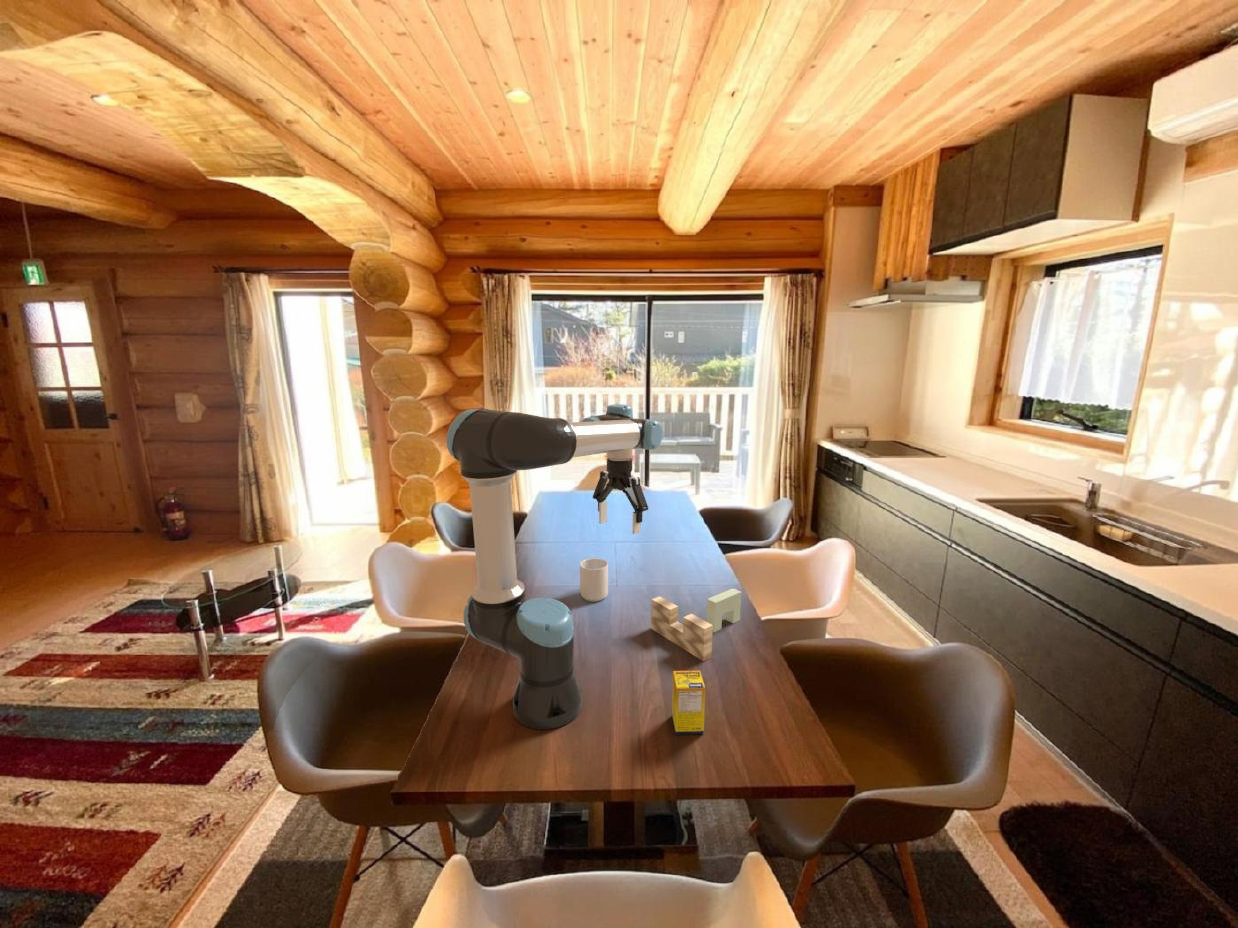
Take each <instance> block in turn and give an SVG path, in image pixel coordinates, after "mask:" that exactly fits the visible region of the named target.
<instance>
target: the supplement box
mask: <svg viewBox="0 0 1238 928" xmlns="http://www.w3.org/2000/svg"><path fill="white" fill-rule="evenodd" d="M671 693H672V695H671V696H672V697H671V700H672V701H671V717H672V723H673V726H674V727H673V729H674V732H675V735H677V736H678V735H703V734H704V733H705V732H704V731H705V705H706V687H705V683H704V680H703V676H702V673H701V670H673V671H672V691H671Z"/></svg>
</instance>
